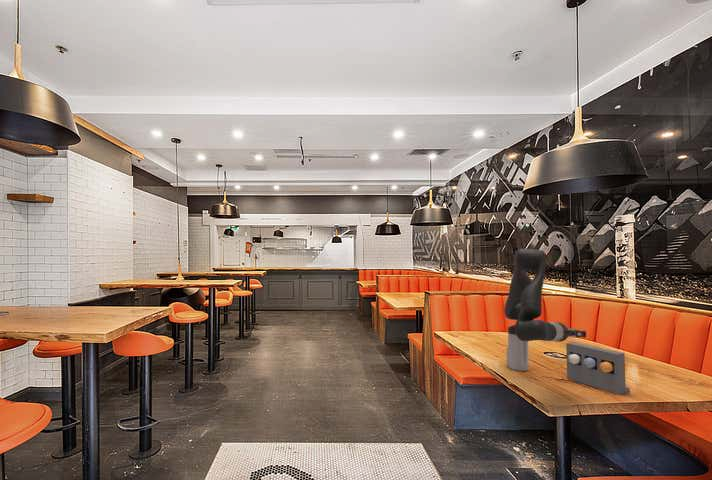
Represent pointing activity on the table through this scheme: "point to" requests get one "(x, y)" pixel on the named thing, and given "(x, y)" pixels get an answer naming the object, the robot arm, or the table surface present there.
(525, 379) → the table surface
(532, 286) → the robot arm
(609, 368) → the orange button
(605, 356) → the button panel
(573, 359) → the offwhite button
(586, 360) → the slate button
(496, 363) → the table surface
